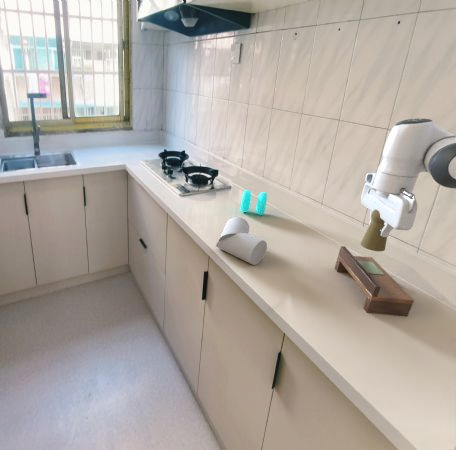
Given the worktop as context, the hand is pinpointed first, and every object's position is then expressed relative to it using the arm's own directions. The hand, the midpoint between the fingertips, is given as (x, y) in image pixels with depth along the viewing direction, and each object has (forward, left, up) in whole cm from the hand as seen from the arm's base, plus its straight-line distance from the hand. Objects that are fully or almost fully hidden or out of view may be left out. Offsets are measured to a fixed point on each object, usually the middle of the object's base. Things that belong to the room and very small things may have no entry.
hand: (377, 231), depth 93 cm
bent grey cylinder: (+34, -15, -17) cm, 41 cm away
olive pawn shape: (0, 0, -5) cm, 5 cm away
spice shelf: (0, +4, -17) cm, 17 cm away
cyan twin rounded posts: (+24, -51, -17) cm, 59 cm away
